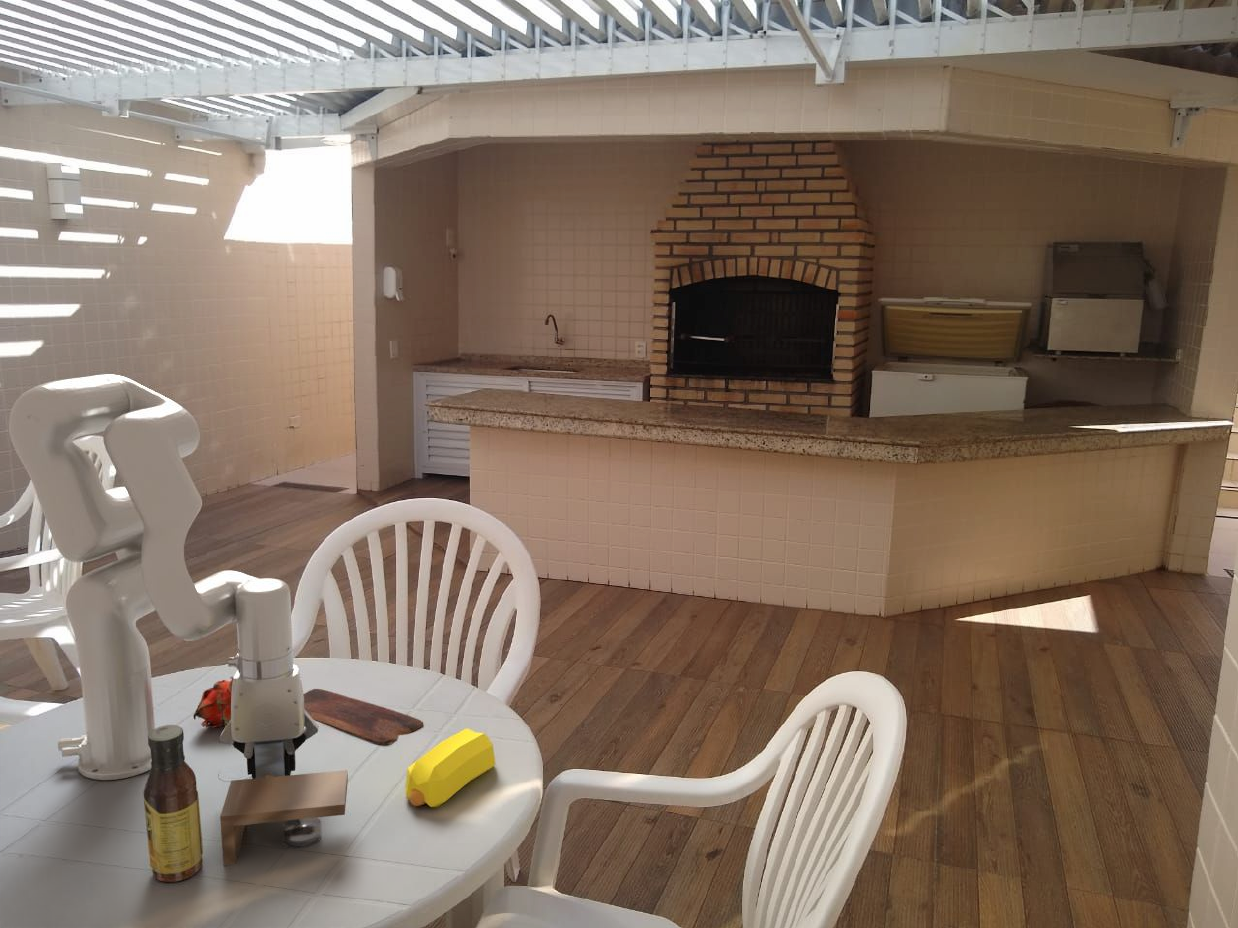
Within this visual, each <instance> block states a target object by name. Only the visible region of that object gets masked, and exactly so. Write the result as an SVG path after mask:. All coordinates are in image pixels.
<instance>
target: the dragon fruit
mask: <svg viewBox="0 0 1238 928" xmlns="http://www.w3.org/2000/svg"><path fill="white" fill-rule="evenodd" d="M233 678H234V676H230V677H229V679H231V680H229V681H228V680H226V679H222V680H219V681H216V682H215V683H214V684H213V685H212V687H211V688H208V689H205V690H204V691H203V693H202V695H201V699H200V702H199V704H198V705H197V708H196V709H195V712H194V713H193V720H195V721H196V717H197V718H198V719H203V720H204V721H202V722H201V723H200V724H201V726H202V727H203V728H204V727H205V728H211V729H212V728H219V727H222V726H226V725H227V724H228V722H229V721H230V719H231V695H232V684H233Z"/></svg>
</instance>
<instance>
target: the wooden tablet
mask: <svg viewBox="0 0 1238 928" xmlns="http://www.w3.org/2000/svg"><path fill="white" fill-rule="evenodd" d="M303 694H304V703H305V710H306V711H307V713H308V714H309V715H310V716H311V717H312V719H313V720H314V721H315V722H316V721H317V722H320V723H323V724H325V725H329V726H331V727H334V728H337V729H339V730H340V731H341V730H342V731H343V732H347V733H348V734H351V735H354V736H357V737H359V738H362V739H364V740H366V741H369V742H371V743H374V744H376V745H377V744H379V745H382V746H389V745H392V744H393V743H394V742H396V741H397V740H398V739H399V736H404V735H409V734H412V733H414V732H416V731H418V730H420V729H421V728H423V726H424V721H422V720H420V719H418V718H416V717H413V716H411V715H408V714H405V713H402V712H399V711H396V710H393V709H390V708H387V707H384V706H381V705H378V704H374V703H371V702H368V701H364V700H360V699H357V698H355V697H354V698H353V697H350V696H346V695H343V694H340V693H336V692H332V691H330V690H326V689H320V688H313V689H311V690H308V691H307V692H305V693H303Z"/></svg>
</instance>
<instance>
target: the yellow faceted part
mask: <svg viewBox="0 0 1238 928" xmlns="http://www.w3.org/2000/svg"><path fill="white" fill-rule="evenodd" d="M494 751H495V750H494V744H493V743H492V741H491V738H489V736H488V735H486V733H484V732H476V731H473V730H472V729H470V728H468V727H466V728H464V729H463V730H460V731H459V732H457V733H455V734H453V735H451V736H448V737H447V738H446V739H444V740H442V741H441V742H439V743H438V744H436V746H434V747H433V748H432V749H430V750H428V752H426V753H425V754H424V755H422V756H421V757H420V758H419V759H417V760H416V761H415V762H413V763H412V764H410V765H409V766H408V767H407V770H406V771H407V773H406V780H405V799H409V802H410V803H411V804H412V805H413V806H415V807H420V806H422V805H425V804H427V805H428V806H429V807H430V808H438V807H440V806H441V805H443V803H445V802H447V801H448V800H449V799H450V798H451V797H452V796H454V795H455V794H456V793H457V792H458V791H459V790H461V789H462V788H463V787H464V786H465V785H467V784H468V783H470V782H473V780H475V779H477V778H478V777H480V776H481V775H483V774H485V773H486V772H488V771H489V770H490V769H491V768H493V767H494V766H495V765H496V758H495V752H494ZM487 770H488V771H487Z"/></svg>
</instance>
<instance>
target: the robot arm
mask: <svg viewBox="0 0 1238 928" xmlns="http://www.w3.org/2000/svg"><path fill="white" fill-rule="evenodd" d="M8 431H9V436H10V441H11V442H12V445H13V448H14V450H15V452H16V454H17V456H18V458H19V459H20V462H21V463H22V465H23V467H24V468H25V471H26V472H27V474H28V476H29V477H30V480H31V482H32V485H33V488H34V490H35V494H36V497H37V499H38V502H39V505H40V508H41V510H42V513H43V515H44V518H45V522H46V523H47V526H48V529H49V531H50V534H51V537H52V539H53V542H54V544H55V546H56V548H57V551H58V552H59V554H61V556H62V557H63V558H64V559H66V560H67V561H69V562H72V563H89V562H92V561H94V560H98V559H100V558H102V557H103V558H104V557H105V556H108V555H111V554H113V553H115V554H116V557H117V560H115V561H112V562H110V563H107V564H105V565H103V566H100V567H98V568H95V569H93V570H90V571H89V572H87V573H85V574H84V575H82V576H80V577H79V578H78V579H76V580H75V581H74V582H73V584H71V586H70V587H69V589H68V591H67V593H66V597H65V609H66V613H67V614H66V615H67V616H68V620H69V622H70V626H71V629H72V631H73V634H74V639H75V642H76V650H77V655H78V663H79V673H80V681H81V692H82V701H83V703H82V704H83V711H84V720H85V721H84V723H85V732H86V734H82V735H81V736H80V737H64V738H63V737H62V738H60V739H58V743H57V750H58V751H59V752H61V756H62V757H73V756H78V757H79V758H78V760H77V769H78V773H80V774H81V775H82V776H84V777H85V778H89V779H92V780H97V781H113V780H121V779H127V778H132V777H135V776H138V775H141V774H144V773H146V772H148V771H150V770H151V761H152V759H151V749H150V747H149V745H148V734H149V733H150V732H151V731H152V730H154V729H156V720H155V707H154V697H153V696H154V695H153V684H152V683H153V682H152V681H153V680H152V671H151V670H152V669H151V658H150V651H149V646H148V643H147V641H146V639H145V638H144V636H143V635H142V634H141V632H140V631H139V629H138V627H137V624H136V623H137V621H138V620H139V619H142V618H144V616H146V615H148V614H150V613H153V612H156V613H157V615H158V617H159V619H160V620H161V621H162V624H163V625H164V626H165V627H166V629H167V630H168V631H169V632H170V633H171V634H172V635H174V636H175V637H177V639H181V640H184V641H187V642H189V641H193V642H194V641H197V640H201V639H204V638H205V637H208V636H209V635H211V634H213V633H215V632H216V631H219V630H220V629H222V628H224V627H225V626H227V625H230V624H232V623H236V632H237V633H236V634H237V652H238V653H237V654H236V655H234V656H232V657H228V660H227V664H228V667H229V668H230V667H234V668H236V672H235V674H234V676H233V677H234V678H233V684H232V695H231V719H230V721H229V722H228V723H227V724H226V725H225V726H224V729H223V730H222V732H221V734H220V735H219V736H220V737H219V740H220V741H222V742H223V743H225V744H228V745H230V746H233V748H235V749H236V750H237V751H239V753H241V754H242V755H243V757H244V758H245V759H246V769H247V770H246V771H247V775H248V776H249V775H251V779H255V778H256V768H255V750H254V744H255V742H261V741H274V740H284V743H285V747H286V749H285V754H284V768H285V776H288V775H292V772H294V771H295V772H296V751H297V750H298V749H299V748H300V747H301V746H302V745H303V744H304V743H305V742H306V741H307V740H308V739H310V738H311V737H314V736H315V735H316V734H317V733H318V732H319V727H320V726H319V724H318V723H317V722H316V720H313V719H312V717H311V716H310V715H309V714H308V713H307V711H306V710H305V703H304V694H305V693H304V690H303V689H304V688H303V684H302V683H303V682H302V679H301V674H300V670H299V668H298V666H297V665H296V664H294V649H293V648H294V647H293V627H292V626H293V625H292V623H293V622H292V605H291V604H292V602H291V601H292V600H291V599H292V598H291V589H290V587H289V585H288V583H286V582H285V581H283V580H281V579H278V578H271V577H269V578H267V577H265V578H264V577H263V578H258V577H256V576H253V575H249V574H246V573H244V572H241V571H236V570H231V569H228V570H227V569H226V570H221V571H218V572H216V573H214V574H211V575H209V576H207V577H205V578H202V579H200V580H198V581H196V582H193V579H192V578H191V576H190V574H189V570H188V568H187V564H186V561H185V560H186V559H185V550H184V549H185V543H186V538H187V535H188V533H189V530H190V528H191V526H192V524H193V523H194V521H195V519H196V517H197V516H198V515H199V513H200V511H201V509H202V505H203V499H202V497H201V495H200V492H199V491H198V489H197V488H196V485H195V483H194V481H193V479H192V477H191V475H190V473H189V471H188V469H187V467H186V465H185V463H184V462H183V460H182V459H183V458H185V457H187V456H189V455H191V454H193V453H194V452H195V451H196V450H197V448H198V447H199V443H200V439H201V433H200V428H199V425H198V423H197V421H196V419H195V418H194V416H193V415H192V414H191V413H190V412H189V411H188V409H186V408H184V407H183V406H181V405H180V404H179V403H177V402H175V401H174V400H172V399H170V398H168V397H165V396H164V395H162V394H160V393H158V392H155V391H154V390H153V389H151V388H150V389H149V388H148V387H146V386H144V385H141V384H140V383H138V382H136V381H134V380H132V379H131V378H128V377H125V376H121V375H117V374H112V373H111V374H110V373H109V374H108V373H105V374H104V373H103V374H96V375H88V376H82V377H81V376H80V377H73V378H66V379H59V380H53V381H48V382H44V383H42V384H39V385H37V386H34V387H32V388H30V389H28V390H27V391H25V392H23V393H22V394H21V395H20V396H19V397H18V398H17V400H16V401H15V402H14V404H13V406H12V408H11V411H10V414H9V418H8ZM101 432H103V435H102V436H103V439H102V440H103V445H104V449H105V451H106V453H107V455H108V456H109V459H110V461H111V464H112V466H114V469H115V470H116V471H115V472H116V473H117V475H118V477H119V478H120V481H121V483H122V485H123V486H116V487H112V488H107V489H105V488H104V485H103V483H102V481H101V478H100V475H99V472H98V469H97V467H96V465H95V463H94V462H93V460H92V459H91V457H90V456H89V455H88V454H87V453H86V451H84V450H83V449H82V448H80V446H78V445H77V444H76V443H75V442H74V440H75V439H76V438H80V437H83V436H87V435H93V434H97V433H101Z"/></svg>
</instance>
